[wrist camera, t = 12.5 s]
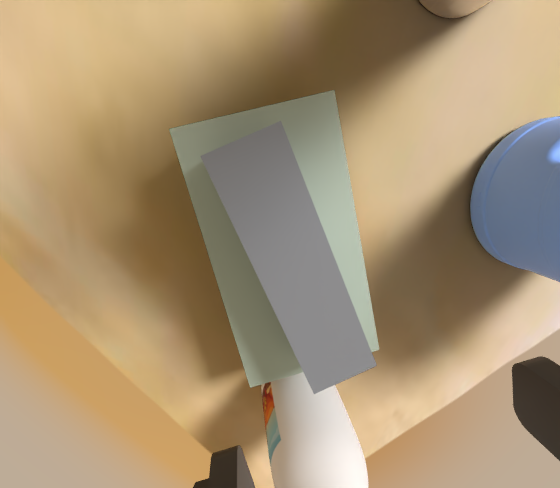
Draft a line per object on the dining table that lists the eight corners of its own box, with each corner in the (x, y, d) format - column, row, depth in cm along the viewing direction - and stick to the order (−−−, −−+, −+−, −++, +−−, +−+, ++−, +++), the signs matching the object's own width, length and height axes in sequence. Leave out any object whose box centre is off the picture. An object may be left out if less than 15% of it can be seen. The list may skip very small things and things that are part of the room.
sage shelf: (312, 106, 30) (334, 89, 23) (352, 314, 36) (379, 349, 29) (184, 136, 29) (168, 128, 22) (247, 344, 35) (250, 387, 28)
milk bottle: (276, 336, 35) (325, 548, 16) (337, 357, 37) (448, 570, 18) (249, 394, 36) (264, 653, 17) (309, 411, 38) (384, 664, 19)
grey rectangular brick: (271, 129, 23) (281, 120, 18) (352, 330, 28) (376, 365, 23) (207, 157, 23) (200, 156, 18) (300, 354, 28) (314, 394, 23)
